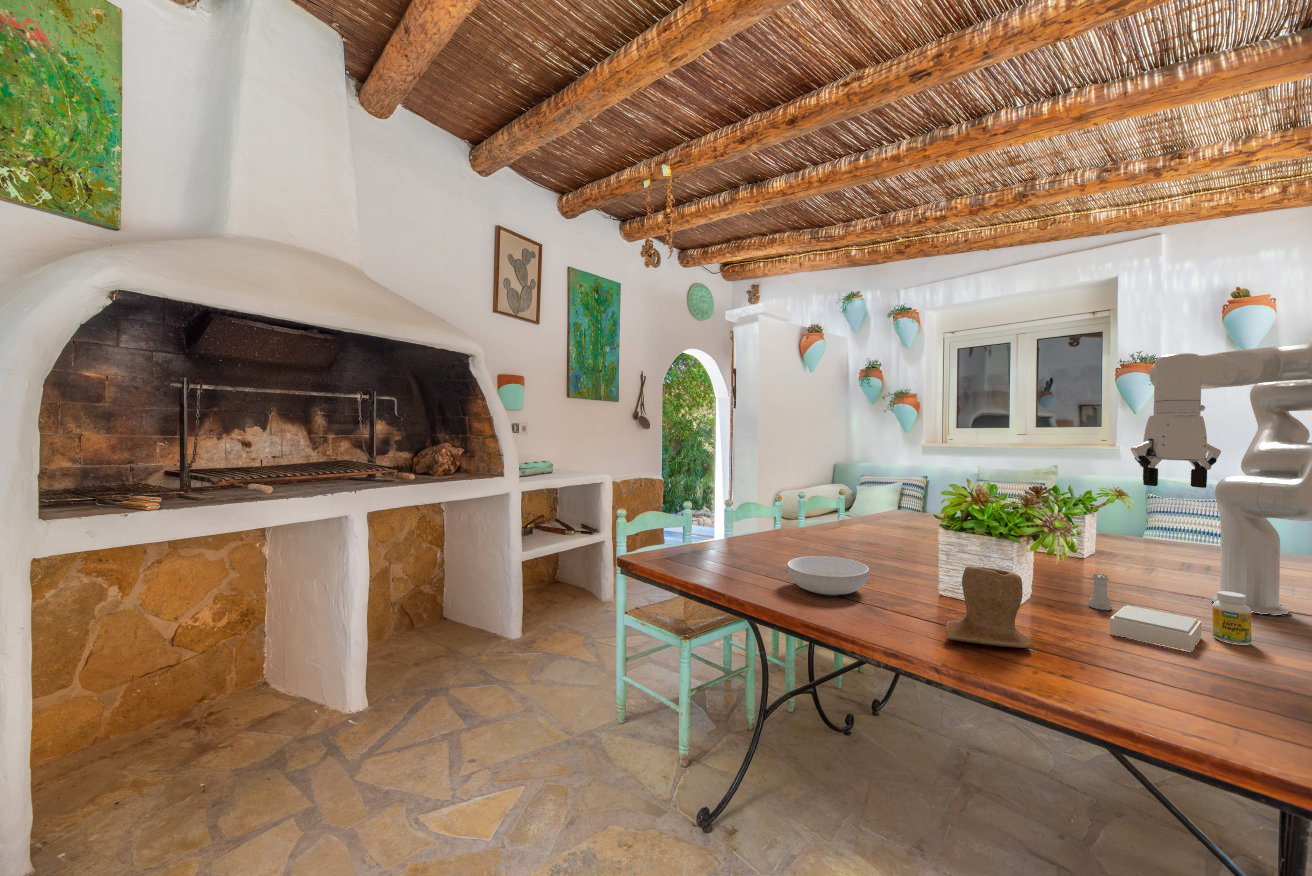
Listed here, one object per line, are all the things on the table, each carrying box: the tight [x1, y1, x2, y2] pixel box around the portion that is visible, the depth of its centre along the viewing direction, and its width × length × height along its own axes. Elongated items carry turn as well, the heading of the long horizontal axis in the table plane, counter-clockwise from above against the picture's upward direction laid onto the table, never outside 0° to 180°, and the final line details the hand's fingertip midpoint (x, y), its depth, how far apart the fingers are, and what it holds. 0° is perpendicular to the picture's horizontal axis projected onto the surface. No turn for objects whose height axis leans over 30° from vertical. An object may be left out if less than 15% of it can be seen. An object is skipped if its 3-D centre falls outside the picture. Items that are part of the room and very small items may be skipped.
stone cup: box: [945, 565, 1032, 649], centre depth 108 cm, size 15×12×15 cm
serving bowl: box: [786, 555, 870, 596], centre depth 143 cm, size 21×21×7 cm
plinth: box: [1109, 604, 1202, 652], centre depth 110 cm, size 12×12×4 cm
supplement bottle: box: [1212, 590, 1253, 645], centre depth 108 cm, size 5×5×10 cm
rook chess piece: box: [1088, 572, 1113, 611], centre depth 128 cm, size 4×4×8 cm
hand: (1174, 486), depth 119 cm, fingers open, 9 cm apart
